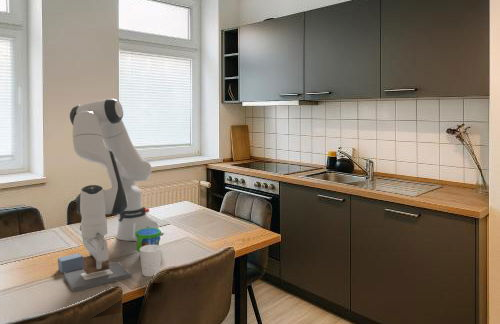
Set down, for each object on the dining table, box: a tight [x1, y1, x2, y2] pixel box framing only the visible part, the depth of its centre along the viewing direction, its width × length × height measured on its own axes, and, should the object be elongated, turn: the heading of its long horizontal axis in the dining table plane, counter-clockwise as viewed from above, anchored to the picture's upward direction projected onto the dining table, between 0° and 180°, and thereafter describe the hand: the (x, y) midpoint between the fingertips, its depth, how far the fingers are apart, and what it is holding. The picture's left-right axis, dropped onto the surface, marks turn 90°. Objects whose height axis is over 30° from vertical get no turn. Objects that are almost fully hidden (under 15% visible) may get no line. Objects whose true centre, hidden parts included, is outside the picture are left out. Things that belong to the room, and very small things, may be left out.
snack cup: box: [135, 228, 161, 253], centre depth 171 cm, size 16×10×10 cm
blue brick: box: [57, 252, 84, 274], centre depth 156 cm, size 8×4×5 cm, turn 132°
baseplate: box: [63, 261, 131, 293], centre depth 148 cm, size 20×14×2 cm
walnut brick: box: [82, 255, 110, 274], centre depth 148 cm, size 8×4×5 cm, turn 126°
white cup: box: [139, 244, 162, 277], centre depth 152 cm, size 8×8×10 cm
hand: (96, 265), depth 148 cm, fingers closed on walnut brick, 4 cm apart
